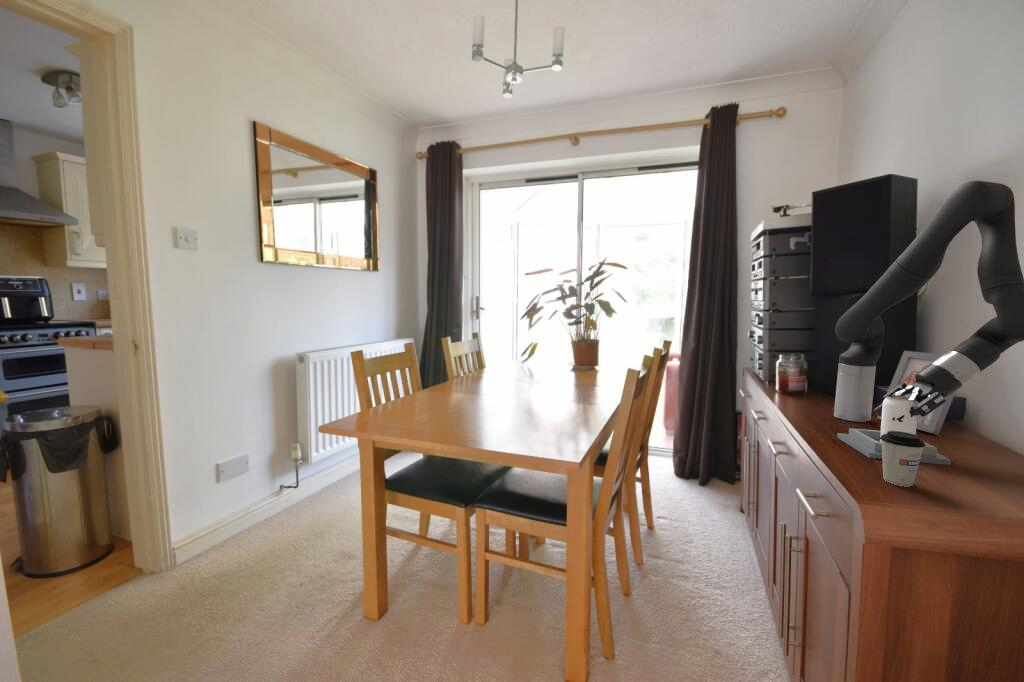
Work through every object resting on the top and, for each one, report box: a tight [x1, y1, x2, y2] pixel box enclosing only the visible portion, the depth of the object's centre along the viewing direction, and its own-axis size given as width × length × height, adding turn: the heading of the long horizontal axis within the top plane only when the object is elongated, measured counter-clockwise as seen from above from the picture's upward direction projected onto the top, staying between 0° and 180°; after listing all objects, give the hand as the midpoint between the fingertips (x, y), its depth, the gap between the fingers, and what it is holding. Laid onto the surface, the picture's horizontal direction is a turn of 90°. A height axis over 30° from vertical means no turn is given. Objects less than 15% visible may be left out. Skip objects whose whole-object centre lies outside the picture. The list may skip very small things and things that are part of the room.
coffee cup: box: [880, 431, 926, 488], centre depth 91 cm, size 7×7×10 cm
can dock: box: [836, 427, 952, 466], centre depth 111 cm, size 16×16×3 cm
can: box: [880, 394, 918, 442], centre depth 109 cm, size 6×6×12 cm
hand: (885, 417), depth 111 cm, fingers open, 7 cm apart
